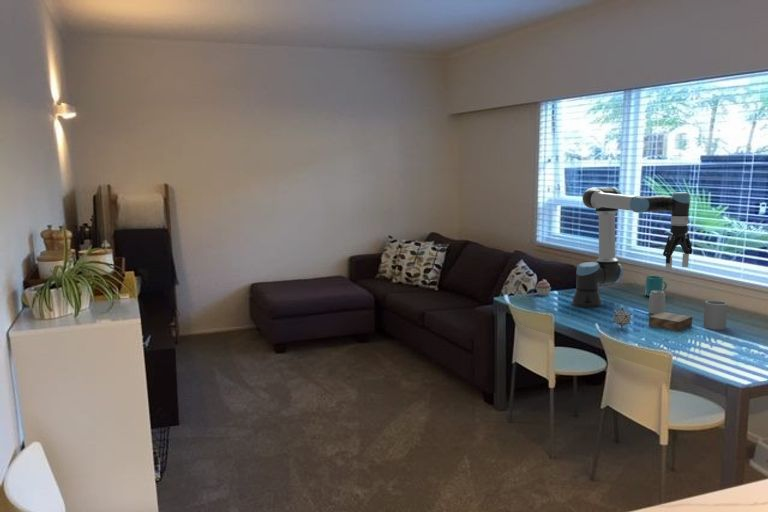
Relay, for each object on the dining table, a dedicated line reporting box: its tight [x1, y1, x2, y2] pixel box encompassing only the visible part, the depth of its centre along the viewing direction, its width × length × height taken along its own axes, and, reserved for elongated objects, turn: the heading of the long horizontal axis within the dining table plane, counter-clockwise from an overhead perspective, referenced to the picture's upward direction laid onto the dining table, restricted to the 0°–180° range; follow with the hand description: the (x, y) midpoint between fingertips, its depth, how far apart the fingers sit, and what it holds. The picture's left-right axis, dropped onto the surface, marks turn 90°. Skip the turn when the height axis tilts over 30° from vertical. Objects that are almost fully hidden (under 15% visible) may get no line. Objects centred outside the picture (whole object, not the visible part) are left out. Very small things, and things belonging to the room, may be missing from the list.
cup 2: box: [703, 300, 728, 331], centre depth 279 cm, size 9×9×12 cm
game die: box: [612, 307, 633, 329], centre depth 281 cm, size 9×8×10 cm
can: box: [648, 290, 666, 315], centre depth 306 cm, size 8×8×12 cm
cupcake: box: [535, 278, 552, 297], centre depth 355 cm, size 9×9×10 cm
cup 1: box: [644, 275, 668, 297], centre depth 347 cm, size 9×12×11 cm
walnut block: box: [648, 311, 693, 332], centre depth 284 cm, size 14×14×5 cm
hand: (676, 268), depth 288 cm, fingers open, 13 cm apart
